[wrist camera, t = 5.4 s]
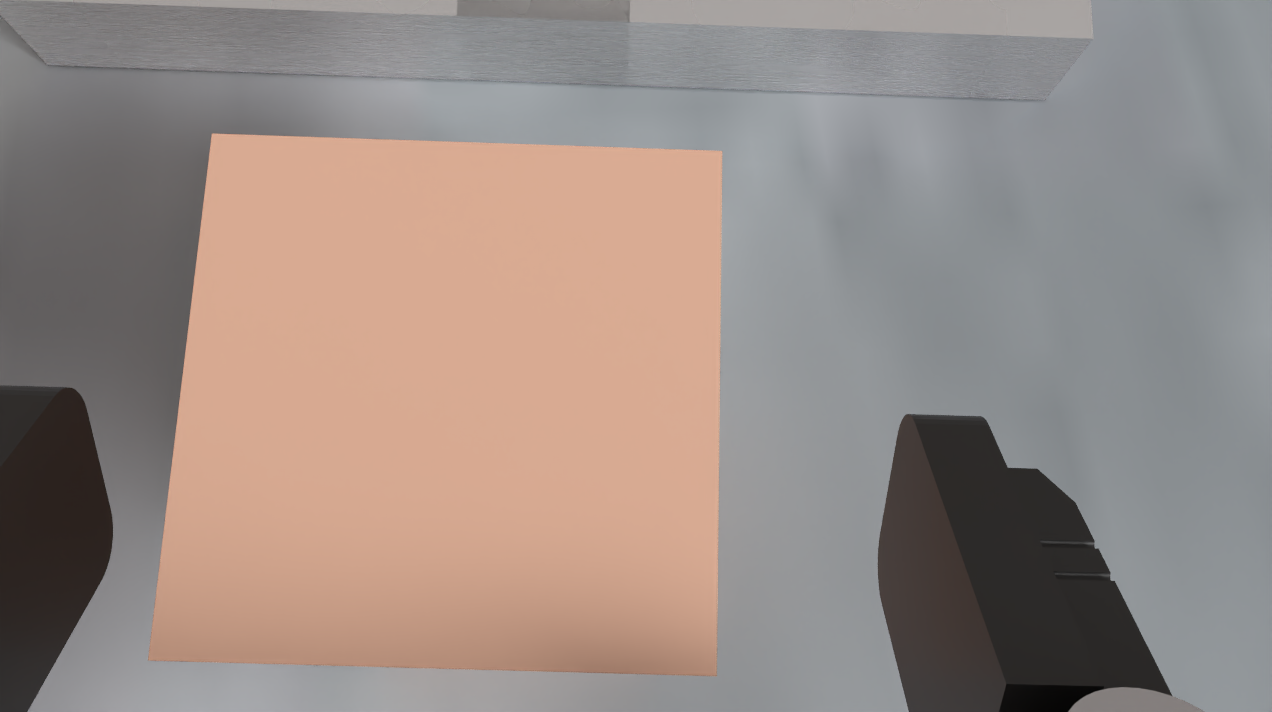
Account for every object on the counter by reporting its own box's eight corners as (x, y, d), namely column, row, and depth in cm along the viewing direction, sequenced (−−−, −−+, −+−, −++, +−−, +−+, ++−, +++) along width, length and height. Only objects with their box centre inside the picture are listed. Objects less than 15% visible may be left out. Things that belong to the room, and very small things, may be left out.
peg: (401, 385, 18) (212, 133, 9) (667, 393, 18) (722, 150, 10) (381, 659, 17) (148, 660, 8) (661, 667, 17) (716, 676, 9)
